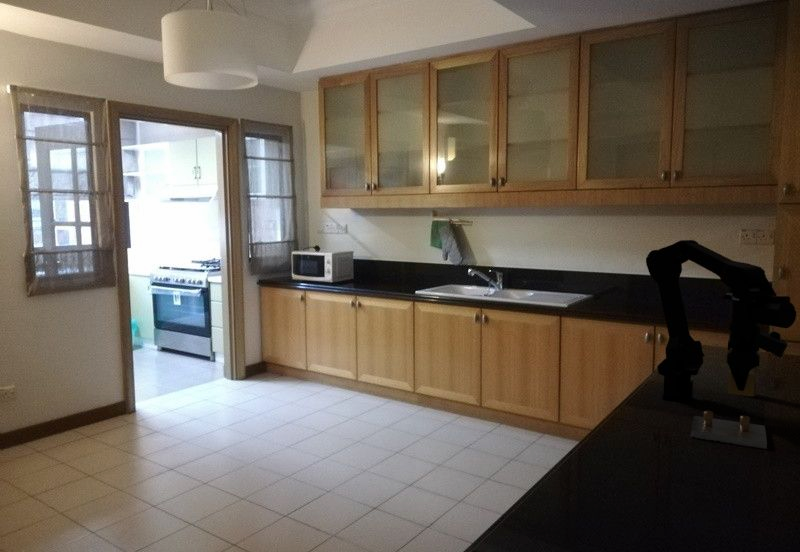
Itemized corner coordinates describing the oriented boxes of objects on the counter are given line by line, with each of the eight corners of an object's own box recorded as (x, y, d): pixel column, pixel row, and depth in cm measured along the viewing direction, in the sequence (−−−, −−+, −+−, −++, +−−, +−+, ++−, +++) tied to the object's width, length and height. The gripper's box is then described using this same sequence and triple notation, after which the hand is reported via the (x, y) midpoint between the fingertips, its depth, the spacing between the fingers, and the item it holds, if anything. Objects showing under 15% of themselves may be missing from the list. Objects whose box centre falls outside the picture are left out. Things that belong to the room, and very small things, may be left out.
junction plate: (690, 437, 131) (691, 416, 131) (693, 422, 141) (694, 403, 140) (766, 449, 124) (767, 427, 124) (764, 432, 134) (765, 412, 134)
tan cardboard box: (728, 393, 140) (729, 372, 140) (728, 388, 145) (729, 367, 144) (753, 396, 138) (754, 374, 137) (752, 390, 142) (754, 369, 142)
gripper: (789, 330, 128) (784, 403, 129) (783, 317, 144) (779, 382, 145) (728, 326, 133) (725, 396, 134) (729, 314, 149) (726, 376, 151)
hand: (740, 387), depth 141 cm, fingers closed on tan cardboard box, 5 cm apart
